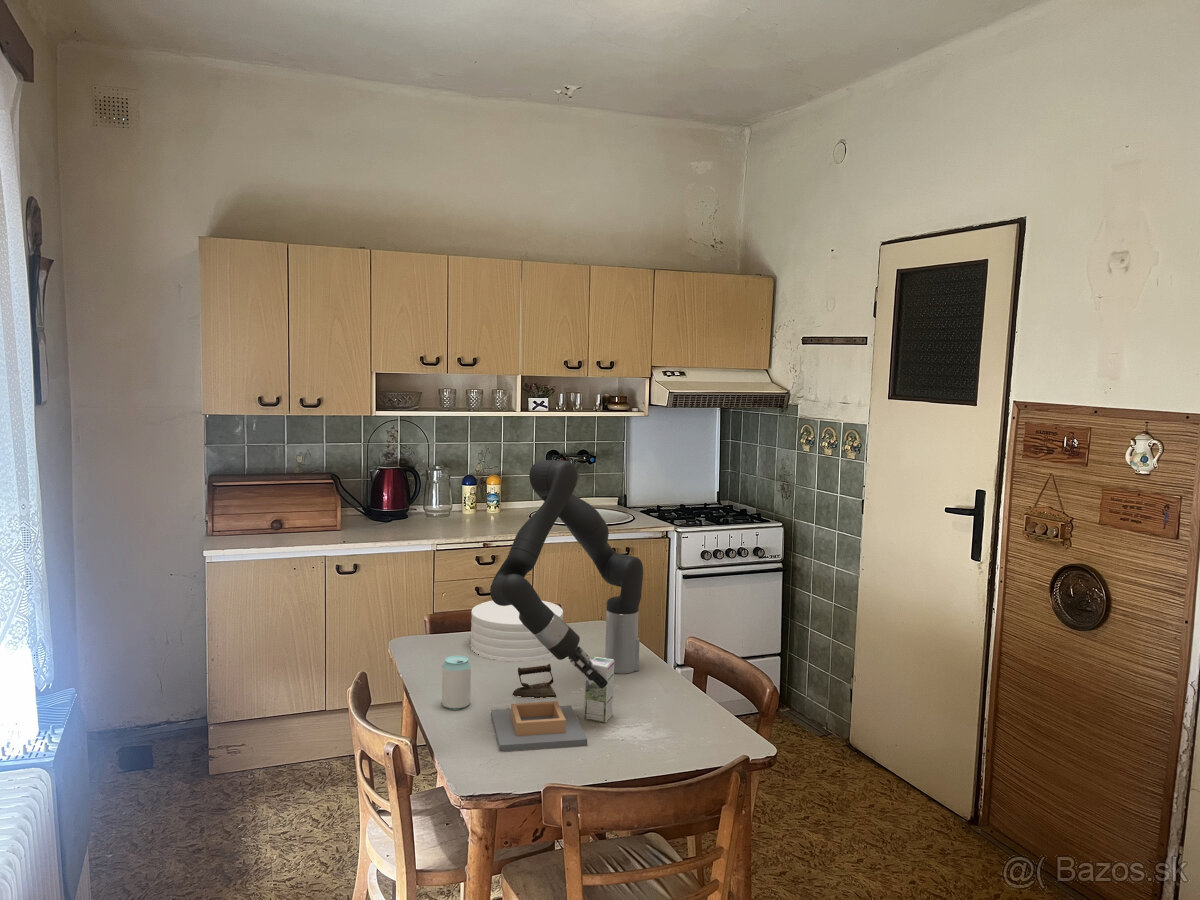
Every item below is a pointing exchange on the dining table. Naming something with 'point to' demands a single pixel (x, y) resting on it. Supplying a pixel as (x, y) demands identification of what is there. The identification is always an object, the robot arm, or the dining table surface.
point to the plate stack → (505, 633)
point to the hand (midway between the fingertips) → (601, 679)
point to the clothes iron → (535, 689)
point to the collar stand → (537, 726)
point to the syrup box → (600, 691)
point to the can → (456, 682)
